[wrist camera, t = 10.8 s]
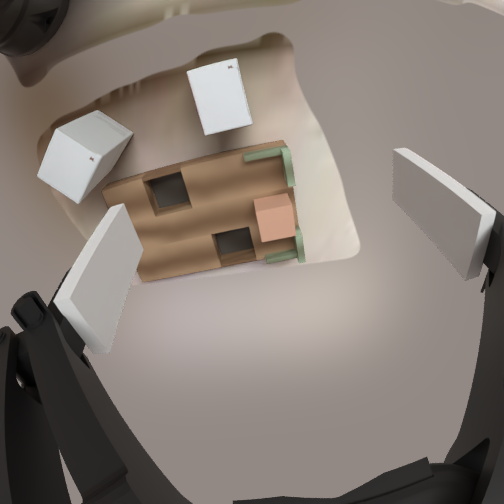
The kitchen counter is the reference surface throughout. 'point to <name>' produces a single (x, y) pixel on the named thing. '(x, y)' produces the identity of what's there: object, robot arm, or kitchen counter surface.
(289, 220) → the block
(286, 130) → the kitchen counter surface
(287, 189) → the tray
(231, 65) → the small box
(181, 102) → the kitchen counter surface
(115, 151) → the supplement box
